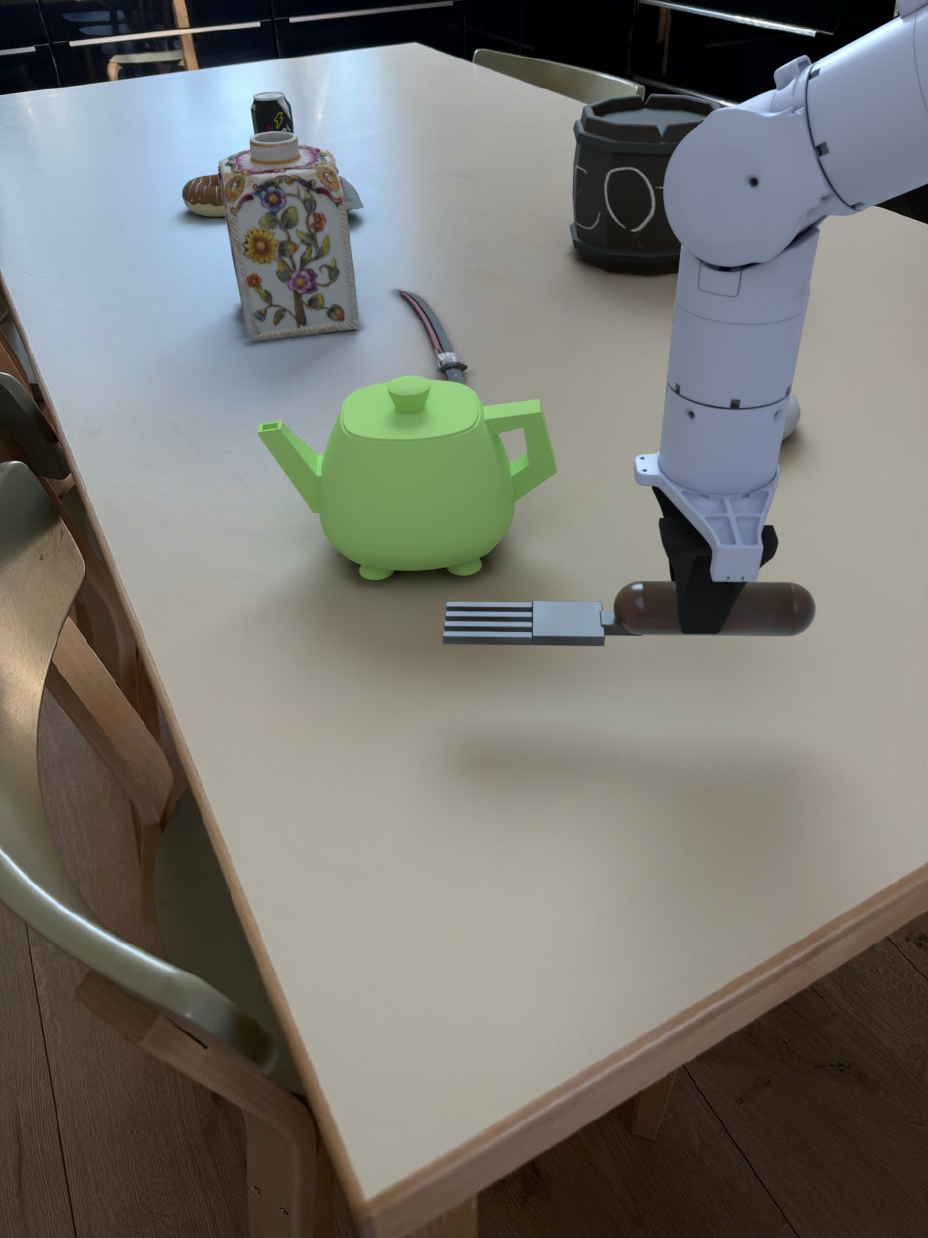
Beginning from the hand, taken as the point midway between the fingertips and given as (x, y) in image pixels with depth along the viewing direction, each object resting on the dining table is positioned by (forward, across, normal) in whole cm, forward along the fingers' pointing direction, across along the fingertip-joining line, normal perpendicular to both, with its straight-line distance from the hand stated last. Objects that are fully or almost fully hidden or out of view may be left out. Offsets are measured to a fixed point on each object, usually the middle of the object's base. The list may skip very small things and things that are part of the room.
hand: (695, 609), depth 55 cm
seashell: (+7, -94, -36) cm, 101 cm away
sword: (+6, -51, -19) cm, 55 cm away
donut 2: (+7, -98, -52) cm, 111 cm away
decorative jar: (+7, -58, -34) cm, 68 cm away
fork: (+1, 0, -4) cm, 4 cm away
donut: (+7, -33, +8) cm, 35 cm away
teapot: (+7, -16, -17) cm, 24 cm away
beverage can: (+7, -110, -46) cm, 119 cm away
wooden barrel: (+7, -77, +5) cm, 78 cm away
